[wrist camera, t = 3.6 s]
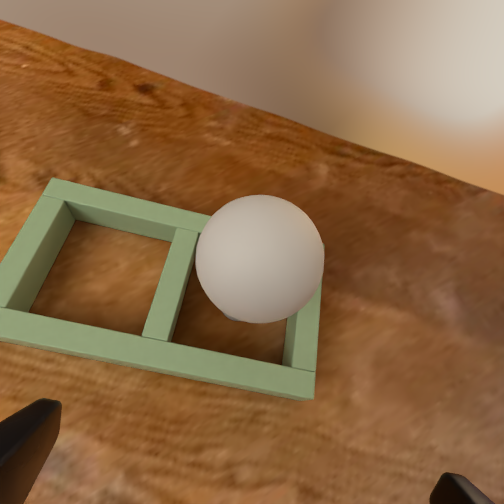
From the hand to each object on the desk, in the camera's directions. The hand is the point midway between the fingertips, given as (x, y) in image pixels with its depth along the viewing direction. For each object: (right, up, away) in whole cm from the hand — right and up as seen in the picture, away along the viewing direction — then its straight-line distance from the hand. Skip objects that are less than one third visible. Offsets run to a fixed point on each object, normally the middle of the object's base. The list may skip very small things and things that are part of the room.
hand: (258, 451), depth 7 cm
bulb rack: (-6, +2, +15) cm, 16 cm away
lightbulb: (-1, +1, +15) cm, 15 cm away
